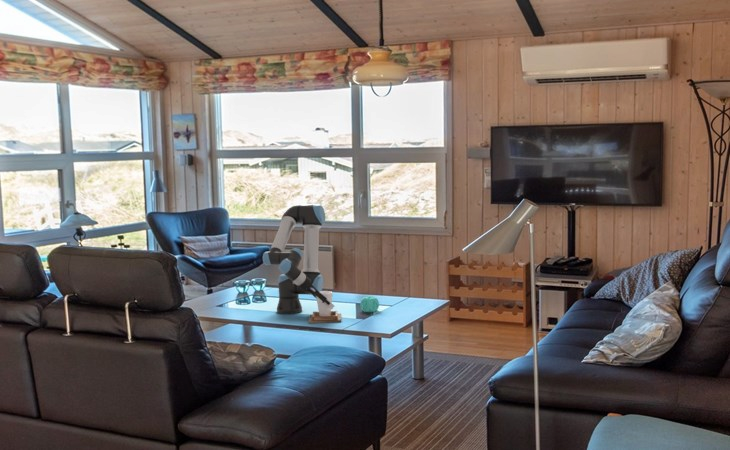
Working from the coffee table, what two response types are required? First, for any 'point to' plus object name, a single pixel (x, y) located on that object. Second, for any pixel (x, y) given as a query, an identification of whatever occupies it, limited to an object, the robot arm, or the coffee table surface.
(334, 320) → the dock board
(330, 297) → the foam cup
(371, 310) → the green textured ball
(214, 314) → the coffee table surface
